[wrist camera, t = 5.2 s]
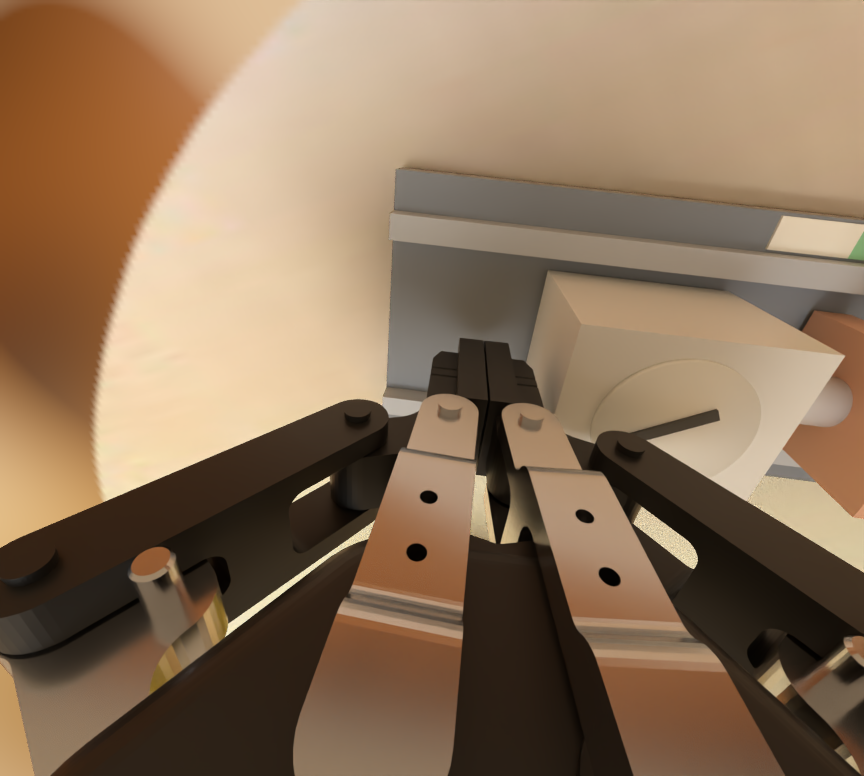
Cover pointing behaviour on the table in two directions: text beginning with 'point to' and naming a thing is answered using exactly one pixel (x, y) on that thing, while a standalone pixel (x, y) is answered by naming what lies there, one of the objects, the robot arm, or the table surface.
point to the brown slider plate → (847, 441)
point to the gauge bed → (590, 262)
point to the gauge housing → (681, 372)
